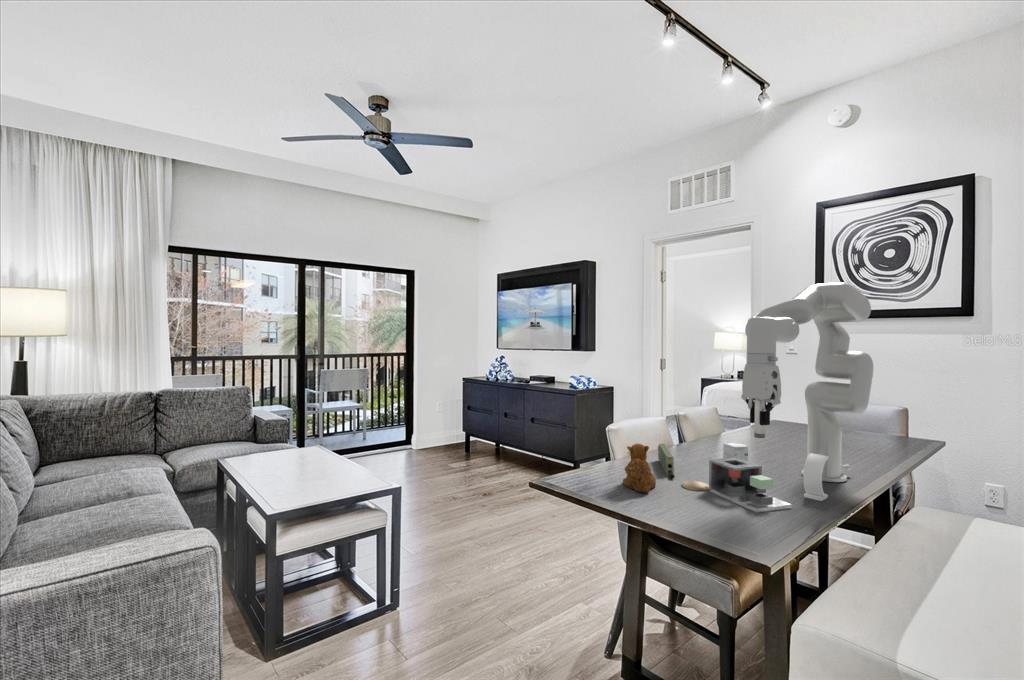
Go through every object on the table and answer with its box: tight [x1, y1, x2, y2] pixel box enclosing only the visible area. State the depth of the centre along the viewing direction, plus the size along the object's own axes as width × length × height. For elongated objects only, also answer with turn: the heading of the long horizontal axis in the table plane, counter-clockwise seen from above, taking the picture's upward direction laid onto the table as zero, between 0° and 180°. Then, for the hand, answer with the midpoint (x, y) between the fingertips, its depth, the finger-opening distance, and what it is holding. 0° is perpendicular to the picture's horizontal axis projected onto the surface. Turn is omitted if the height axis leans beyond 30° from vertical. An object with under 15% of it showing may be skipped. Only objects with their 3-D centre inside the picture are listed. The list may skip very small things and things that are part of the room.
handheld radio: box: [657, 443, 675, 480], centre depth 170 cm, size 7×3×25 cm
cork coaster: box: [681, 480, 709, 492], centre depth 150 cm, size 8×8×1 cm
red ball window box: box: [705, 458, 793, 514], centre depth 140 cm, size 12×20×9 cm, turn 17°
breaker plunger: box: [729, 469, 741, 482], centre depth 144 cm, size 3×3×4 cm
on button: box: [750, 475, 774, 494], centre depth 135 cm, size 4×4×4 cm
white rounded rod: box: [753, 399, 766, 439], centre depth 140 cm, size 3×3×12 cm
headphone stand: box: [802, 453, 829, 502], centre depth 141 cm, size 5×6×12 cm
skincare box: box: [722, 442, 749, 461], centre depth 177 cm, size 6×6×7 cm
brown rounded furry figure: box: [622, 443, 657, 494], centre depth 148 cm, size 10×14×13 cm
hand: (759, 423), depth 141 cm, fingers closed on white rounded rod, 2 cm apart
